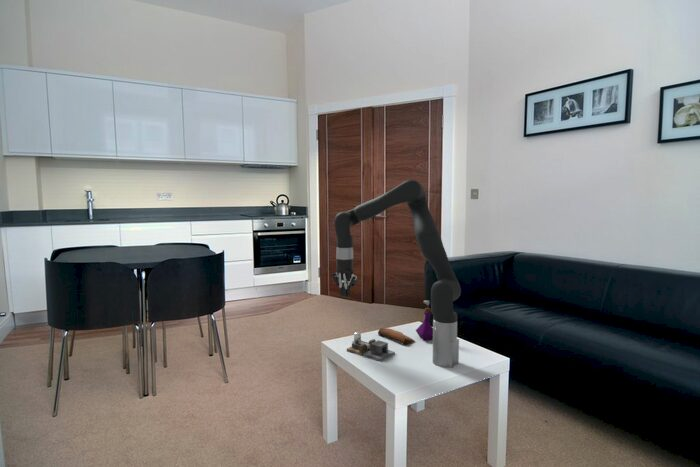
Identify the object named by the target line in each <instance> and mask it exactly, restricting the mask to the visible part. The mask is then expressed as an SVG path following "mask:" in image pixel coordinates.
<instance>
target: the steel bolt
mask: <svg viewBox="0 0 700 467" xmlns="http://www.w3.org/2000/svg"><path fill="white" fill-rule="evenodd" d="M361 341H362V332H361V331H355V332H353V341H352V343H356V344H359V345H361V344H363V343H364V342H365V341H364V342H361ZM352 343H351V344H352ZM364 344H366V350H368V349H370V344H367V343H364Z"/></svg>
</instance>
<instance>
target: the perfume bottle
mask: <svg viewBox="0 0 700 467" xmlns="http://www.w3.org/2000/svg"><path fill="white" fill-rule="evenodd" d="M422 302H423V304H424V305H426V306H427V307H425V308H424V311H423V314H424V315H425V316H424V319H423V322H422V323H421V324H420V325H419V326H418V327H417V328H416V329H415V333H417V335H418V336H419V338H420V339H421V340H422V341H433V325H431V323H430V317H431V315H433V314H432V311H431V308H430V307H429V305H430V300H423V301H422Z"/></svg>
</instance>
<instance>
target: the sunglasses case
mask: <svg viewBox="0 0 700 467" xmlns="http://www.w3.org/2000/svg"><path fill="white" fill-rule="evenodd" d="M377 335H379V336H381V337H385V338H388V339H390V340H393V341H395V342H398V343H399V344H401V345H404V346H407V345H411V344H414V343H416V340H414V339H413V338H411V337H410V336H408V335H406V334H404V333H403V332H401V331H398V330H395V329H393V328H386V327H382V328H380V329H379V330H378V331H377Z"/></svg>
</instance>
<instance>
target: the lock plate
mask: <svg viewBox="0 0 700 467" xmlns="http://www.w3.org/2000/svg"><path fill="white" fill-rule="evenodd" d="M361 342H364V343H367V344H370V349H368V350H366V344H364V343H363V344H361V345H359V344H356V343H351V346H350V347H347V348H346V352H349V353H353V354H355V355H358V356H363V357H365V358H368V359H372V360H375V361H378V362H383V361H385V360H387V359H389V358H391V357H392V356H395V354H396V353H395V351H393V350H390V349H389V343H388V342H386V341H383V340H376V339H374V338H372V339H369V340H368V342H366V341H363V340H361Z"/></svg>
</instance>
